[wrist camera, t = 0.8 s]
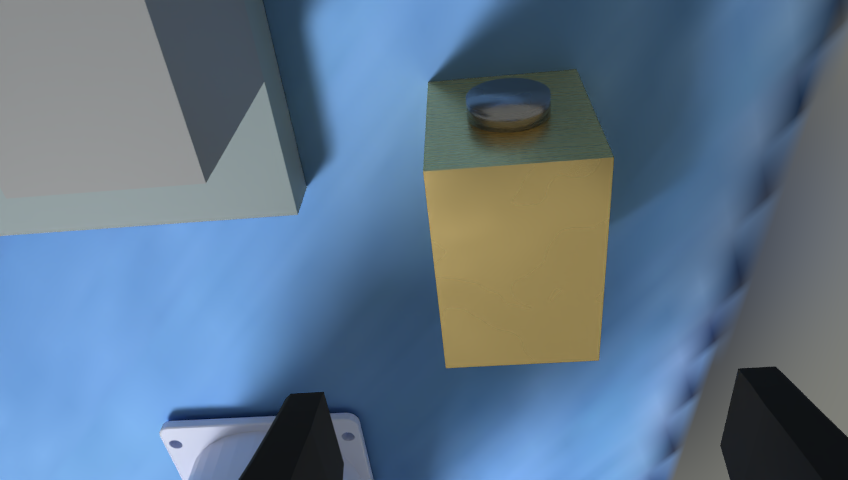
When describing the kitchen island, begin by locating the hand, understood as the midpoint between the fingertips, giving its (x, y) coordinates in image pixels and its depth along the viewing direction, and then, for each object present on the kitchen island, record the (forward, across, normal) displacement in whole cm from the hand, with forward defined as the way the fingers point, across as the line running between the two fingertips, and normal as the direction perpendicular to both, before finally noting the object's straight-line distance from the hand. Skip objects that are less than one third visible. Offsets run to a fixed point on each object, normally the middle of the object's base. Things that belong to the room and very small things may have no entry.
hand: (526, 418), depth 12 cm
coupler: (+10, 0, 0) cm, 10 cm away
